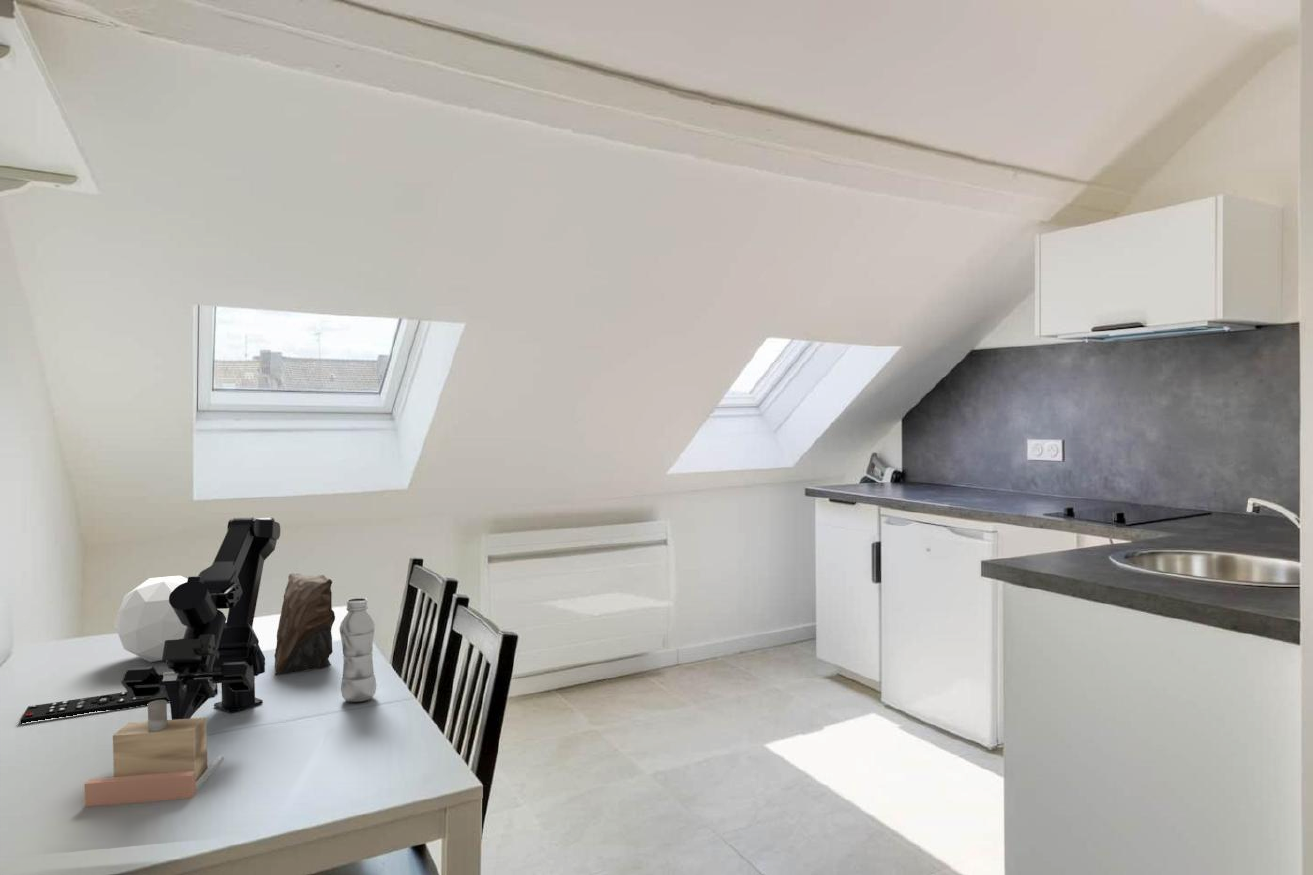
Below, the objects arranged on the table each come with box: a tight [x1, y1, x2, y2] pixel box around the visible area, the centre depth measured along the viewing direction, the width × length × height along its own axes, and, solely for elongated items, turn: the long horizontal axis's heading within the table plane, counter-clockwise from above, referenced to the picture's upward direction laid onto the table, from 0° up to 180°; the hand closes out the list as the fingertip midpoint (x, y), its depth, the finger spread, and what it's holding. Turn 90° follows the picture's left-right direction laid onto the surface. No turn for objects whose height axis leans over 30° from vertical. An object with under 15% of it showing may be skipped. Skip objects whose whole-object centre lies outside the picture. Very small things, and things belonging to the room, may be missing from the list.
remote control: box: [19, 684, 219, 724], centre depth 157 cm, size 8×32×2 cm, turn 120°
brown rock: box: [274, 573, 336, 677], centre depth 180 cm, size 13×13×20 cm
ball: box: [113, 575, 188, 663], centre depth 185 cm, size 19×20×20 cm
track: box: [84, 755, 225, 807], centre depth 120 cm, size 13×14×4 cm
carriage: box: [112, 700, 208, 781], centre depth 121 cm, size 5×11×12 cm, turn 100°
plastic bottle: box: [339, 597, 377, 703], centre depth 157 cm, size 6×7×20 cm
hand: (176, 729), depth 127 cm, fingers closed
